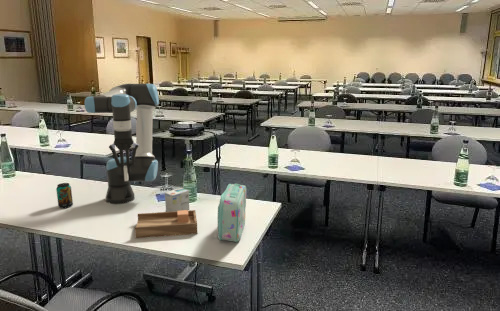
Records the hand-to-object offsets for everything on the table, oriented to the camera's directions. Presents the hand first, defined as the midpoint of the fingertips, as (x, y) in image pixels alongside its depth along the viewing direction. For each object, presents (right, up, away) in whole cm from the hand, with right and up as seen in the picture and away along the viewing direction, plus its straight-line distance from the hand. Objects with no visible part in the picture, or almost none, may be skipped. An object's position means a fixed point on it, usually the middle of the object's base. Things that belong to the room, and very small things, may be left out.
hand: (126, 180), depth 183 cm
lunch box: (+49, -24, -1) cm, 54 cm away
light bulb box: (+19, -17, +23) cm, 35 cm away
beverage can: (-41, -16, +28) cm, 52 cm away
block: (+25, -19, +5) cm, 32 cm away
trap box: (+18, -23, +2) cm, 29 cm away
